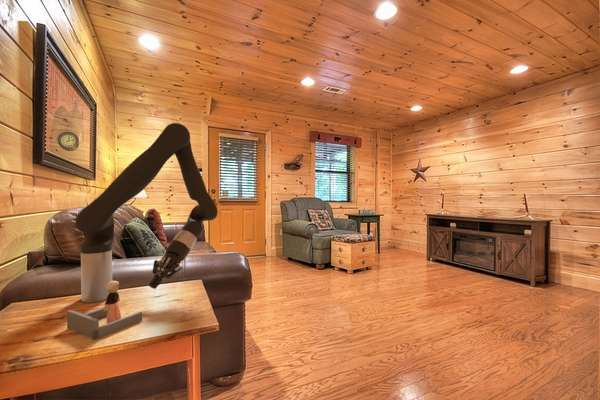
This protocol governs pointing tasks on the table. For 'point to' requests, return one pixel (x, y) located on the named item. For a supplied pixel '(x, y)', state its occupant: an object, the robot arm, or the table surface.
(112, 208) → the robot arm
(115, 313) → the grandmother figurine
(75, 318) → the charcoal bay
